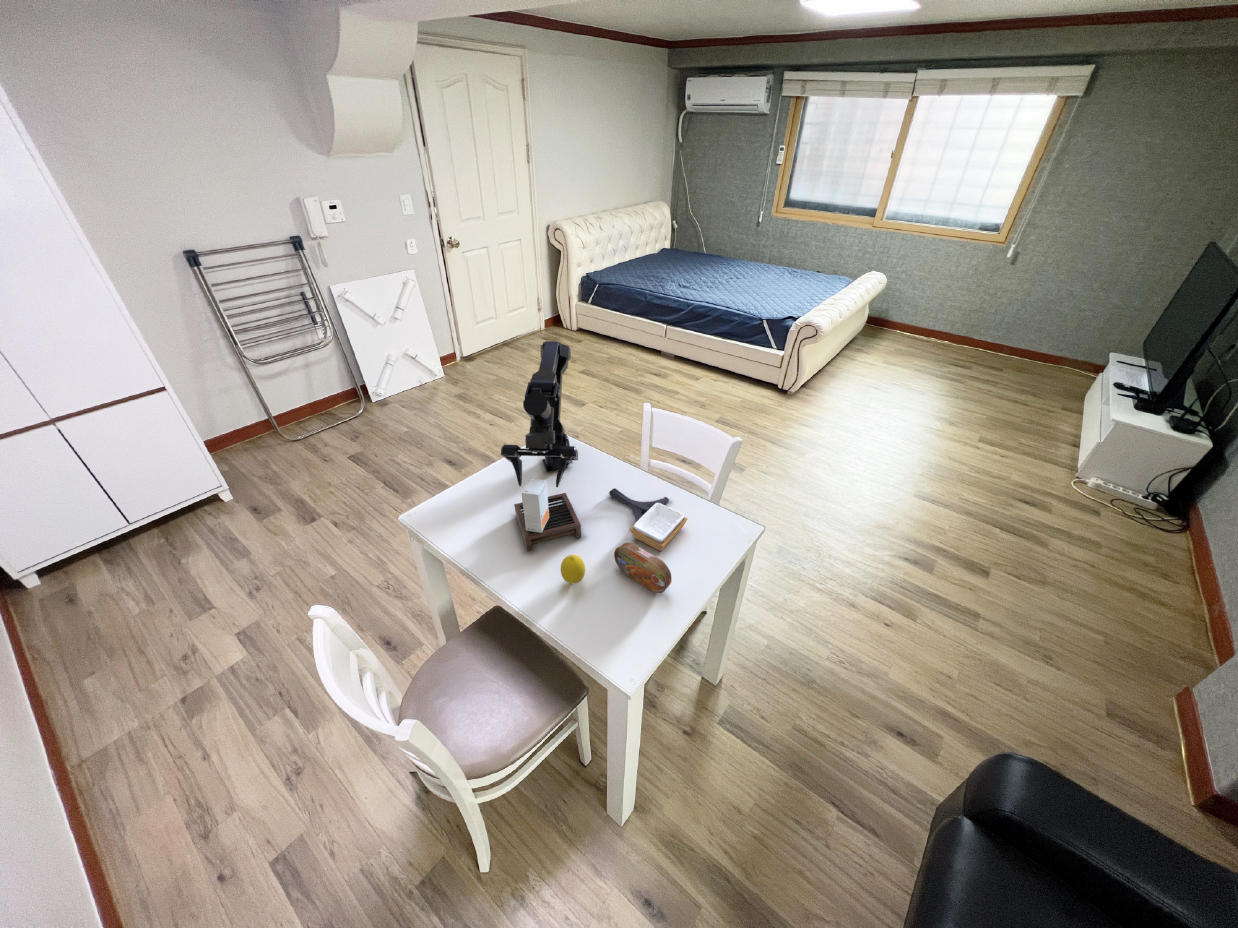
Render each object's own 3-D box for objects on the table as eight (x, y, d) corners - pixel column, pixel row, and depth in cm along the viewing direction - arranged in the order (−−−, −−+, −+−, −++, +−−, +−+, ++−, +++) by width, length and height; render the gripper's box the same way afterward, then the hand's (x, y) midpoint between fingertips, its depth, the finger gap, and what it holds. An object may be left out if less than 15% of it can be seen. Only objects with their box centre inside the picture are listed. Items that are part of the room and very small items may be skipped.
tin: (613, 566, 117) (613, 541, 112) (621, 559, 119) (622, 534, 114) (663, 600, 109) (666, 574, 104) (672, 591, 111) (675, 566, 106)
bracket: (625, 482, 143) (625, 475, 141) (668, 502, 136) (669, 495, 134) (594, 508, 134) (594, 501, 132) (639, 531, 127) (640, 523, 125)
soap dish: (655, 513, 132) (656, 499, 129) (687, 528, 128) (688, 514, 125) (629, 539, 124) (629, 525, 121) (661, 556, 119) (663, 542, 116)
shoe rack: (515, 516, 130) (514, 504, 128) (566, 505, 135) (565, 492, 132) (527, 551, 120) (525, 538, 118) (581, 537, 125) (580, 524, 122)
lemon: (573, 568, 116) (571, 544, 111) (590, 580, 113) (589, 555, 109) (556, 582, 113) (554, 558, 108) (574, 594, 110) (572, 570, 105)
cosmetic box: (542, 533, 119) (538, 495, 112) (525, 530, 120) (520, 493, 113) (550, 517, 124) (546, 479, 117) (534, 514, 125) (529, 477, 118)
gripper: (497, 417, 117) (492, 482, 114) (575, 418, 116) (572, 483, 114) (507, 427, 128) (504, 487, 125) (579, 429, 127) (576, 488, 125)
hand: (538, 486), depth 122 cm, fingers open, 9 cm apart
